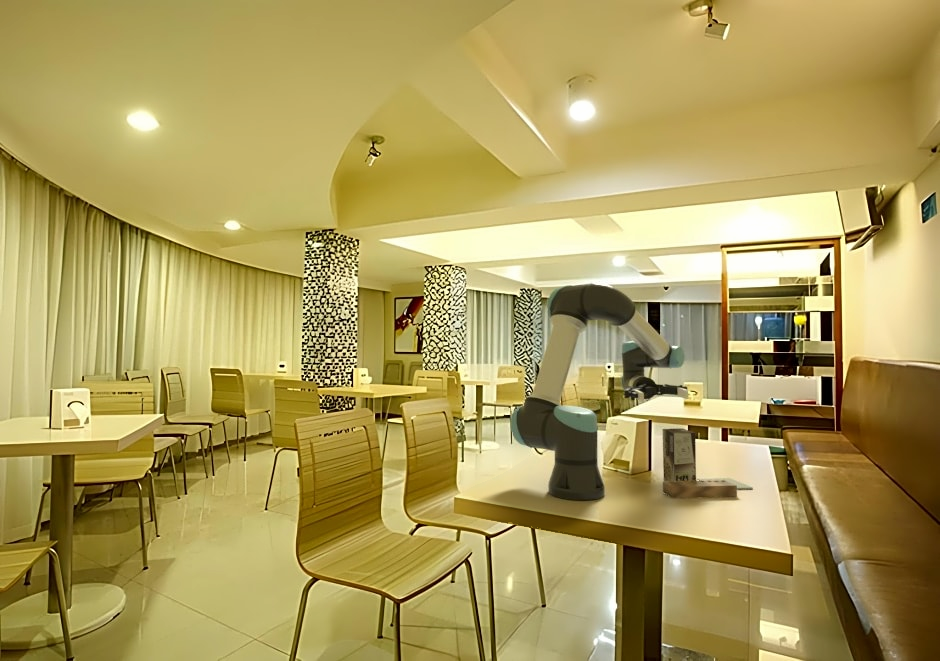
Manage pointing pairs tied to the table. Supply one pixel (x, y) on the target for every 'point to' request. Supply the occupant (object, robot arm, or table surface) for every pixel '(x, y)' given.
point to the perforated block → (699, 489)
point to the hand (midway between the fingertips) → (664, 395)
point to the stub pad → (739, 484)
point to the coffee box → (679, 455)
